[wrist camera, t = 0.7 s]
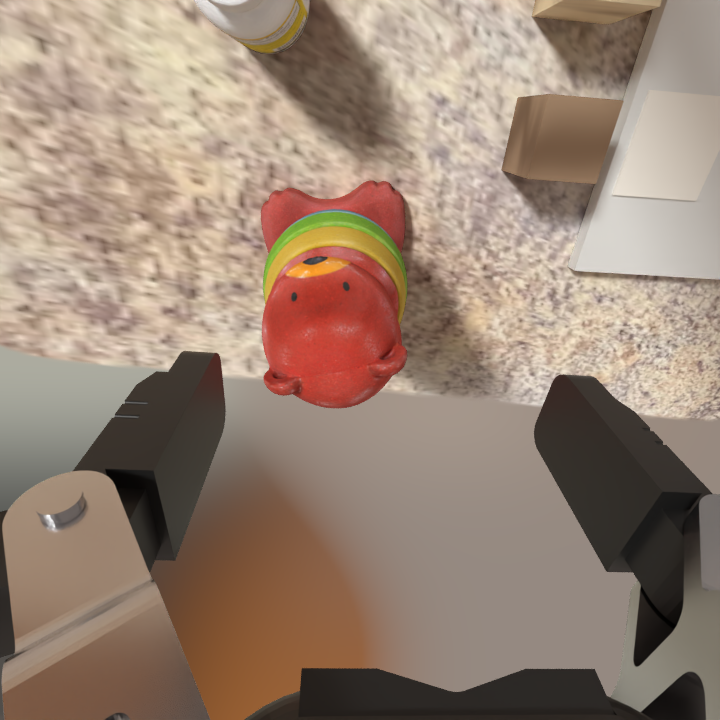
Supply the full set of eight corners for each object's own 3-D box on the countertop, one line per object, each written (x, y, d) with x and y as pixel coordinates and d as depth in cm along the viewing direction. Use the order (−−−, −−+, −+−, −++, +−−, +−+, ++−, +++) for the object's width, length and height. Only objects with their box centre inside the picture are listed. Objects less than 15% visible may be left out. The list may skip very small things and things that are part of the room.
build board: (664, -25, 25) (680, -32, 24) (876, -2, 26) (902, -7, 25) (567, 266, 34) (575, 271, 33) (726, 275, 35) (740, 281, 34)
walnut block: (517, 97, 28) (548, 94, 24) (581, 103, 28) (623, 100, 24) (501, 170, 30) (527, 178, 26) (560, 174, 30) (595, 183, 26)
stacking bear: (403, 177, 30) (463, 238, 15) (406, 304, 35) (453, 448, 20) (256, 190, 30) (166, 264, 15) (280, 315, 35) (232, 466, 20)
